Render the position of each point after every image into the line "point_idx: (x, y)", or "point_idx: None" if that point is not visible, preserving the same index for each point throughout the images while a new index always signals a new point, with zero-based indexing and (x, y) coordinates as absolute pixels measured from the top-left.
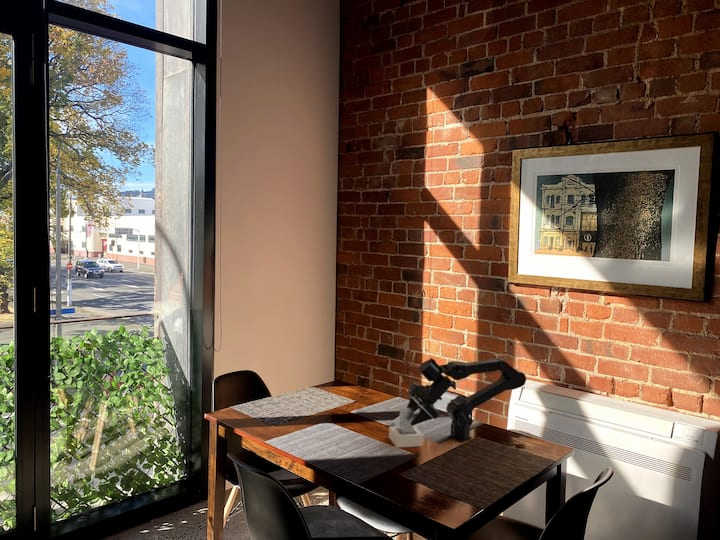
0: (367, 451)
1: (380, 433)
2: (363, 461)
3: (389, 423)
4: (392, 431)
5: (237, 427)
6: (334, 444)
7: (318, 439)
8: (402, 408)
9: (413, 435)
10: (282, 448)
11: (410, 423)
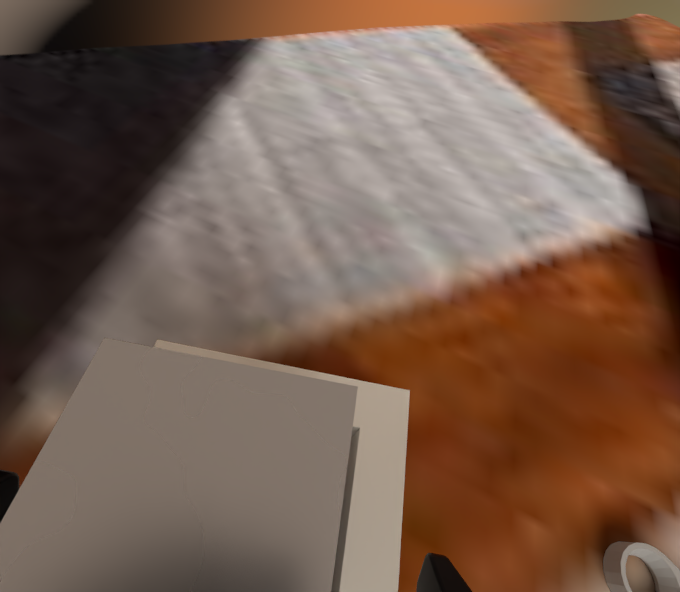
0: (224, 205)
1: (470, 391)
2: (126, 147)
3: (659, 553)
4: (300, 370)
5: (562, 21)
6: (365, 137)
7: (434, 118)
8: (318, 433)
9: None
10: (379, 33)
11: (12, 472)
